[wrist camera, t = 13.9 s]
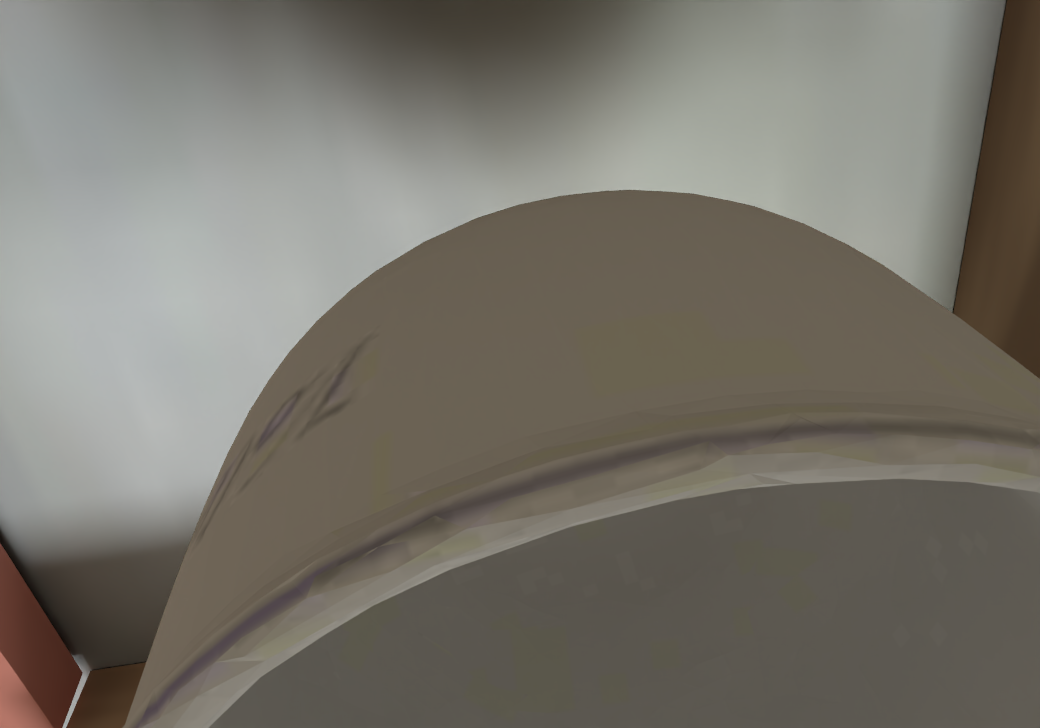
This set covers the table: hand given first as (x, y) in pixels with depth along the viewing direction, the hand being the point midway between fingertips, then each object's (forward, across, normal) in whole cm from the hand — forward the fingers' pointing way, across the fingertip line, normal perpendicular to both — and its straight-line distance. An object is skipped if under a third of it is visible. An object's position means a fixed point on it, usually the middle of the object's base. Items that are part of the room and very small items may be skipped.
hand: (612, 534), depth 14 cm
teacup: (+1, 0, 0) cm, 1 cm away
